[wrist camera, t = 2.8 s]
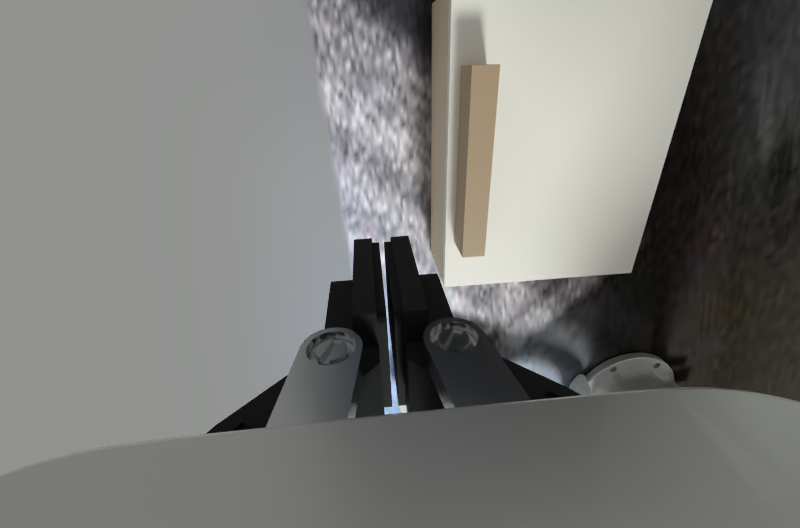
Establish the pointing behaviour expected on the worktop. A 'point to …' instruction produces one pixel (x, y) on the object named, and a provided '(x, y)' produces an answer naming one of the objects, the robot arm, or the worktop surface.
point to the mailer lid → (558, 132)
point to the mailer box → (438, 126)
